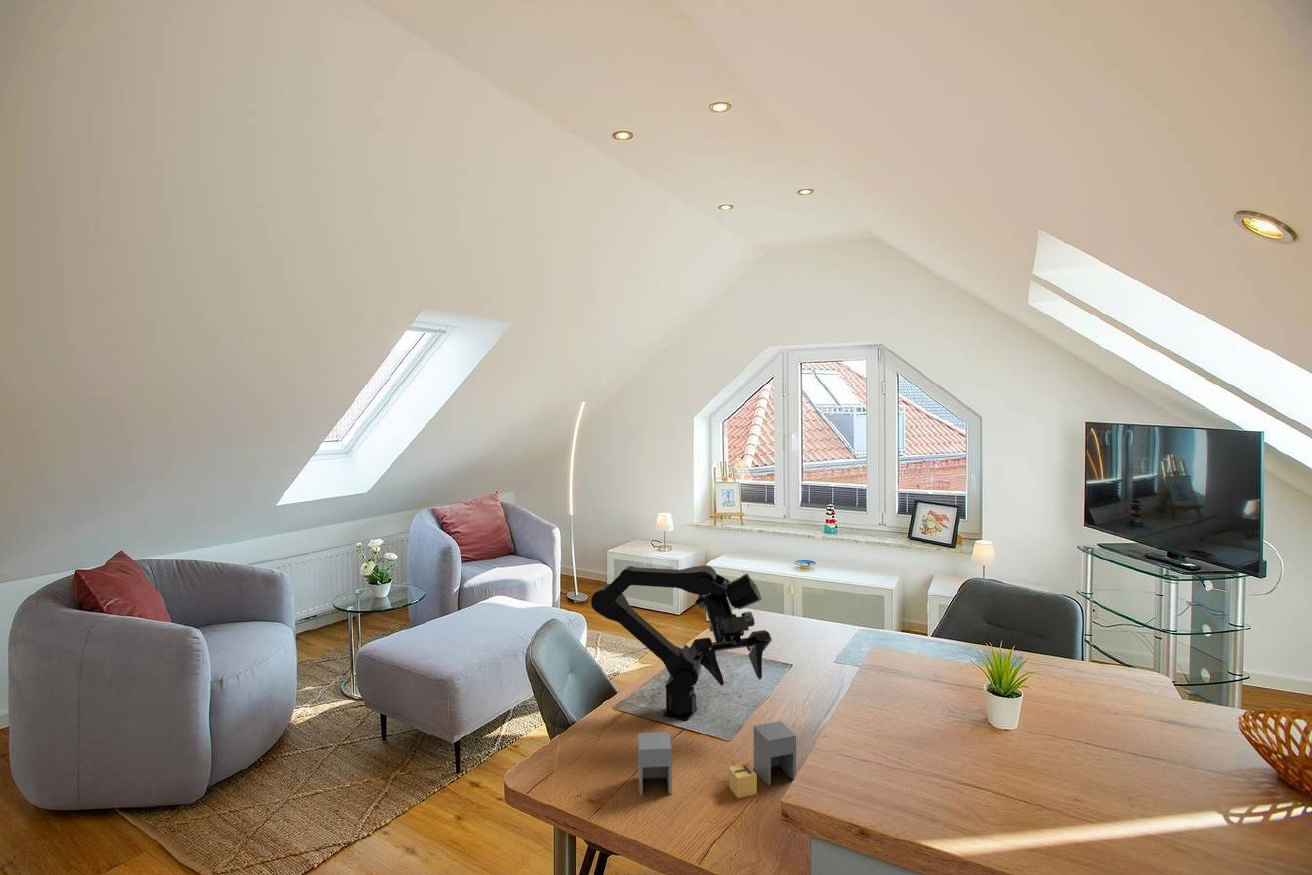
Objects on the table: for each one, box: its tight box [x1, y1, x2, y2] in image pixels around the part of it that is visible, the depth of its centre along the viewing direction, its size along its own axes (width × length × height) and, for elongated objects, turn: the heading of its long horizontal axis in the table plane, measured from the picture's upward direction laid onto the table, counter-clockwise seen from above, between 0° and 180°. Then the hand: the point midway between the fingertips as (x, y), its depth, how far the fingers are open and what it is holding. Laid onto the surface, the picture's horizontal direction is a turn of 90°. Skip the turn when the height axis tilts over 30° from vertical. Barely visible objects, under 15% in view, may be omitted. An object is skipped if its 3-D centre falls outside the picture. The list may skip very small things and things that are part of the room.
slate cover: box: [637, 731, 673, 797], centre depth 127 cm, size 6×6×9 cm
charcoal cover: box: [753, 720, 797, 786], centre depth 130 cm, size 6×6×9 cm
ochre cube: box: [728, 762, 758, 799], centre depth 125 cm, size 4×4×4 cm
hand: (741, 681), depth 142 cm, fingers open, 9 cm apart
